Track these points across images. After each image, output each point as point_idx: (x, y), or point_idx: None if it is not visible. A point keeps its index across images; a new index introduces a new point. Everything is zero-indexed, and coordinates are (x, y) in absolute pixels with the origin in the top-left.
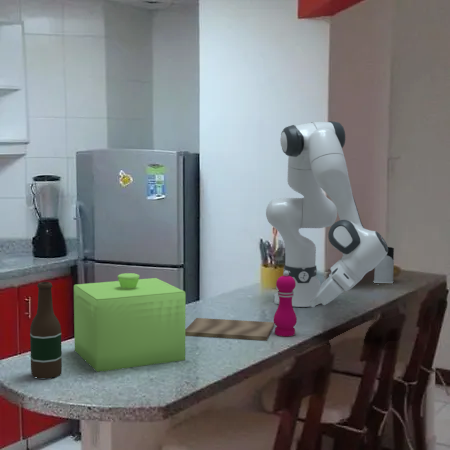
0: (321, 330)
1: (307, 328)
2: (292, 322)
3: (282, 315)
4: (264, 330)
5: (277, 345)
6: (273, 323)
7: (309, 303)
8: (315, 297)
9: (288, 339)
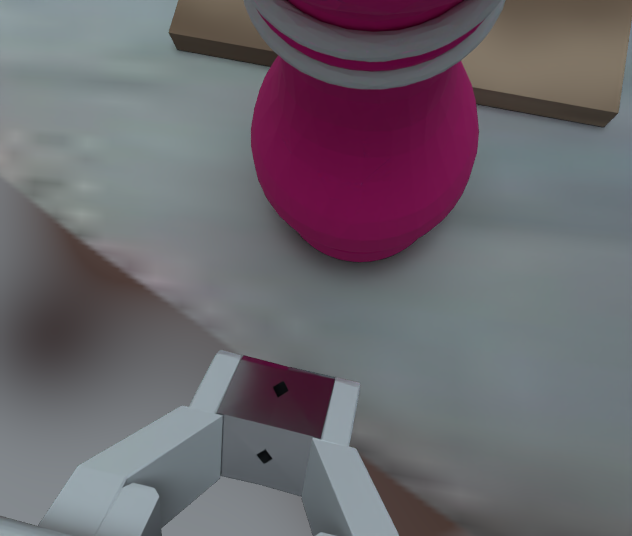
0: (487, 511)
1: (548, 392)
2: (270, 199)
3: (267, 75)
4: None
5: (59, 111)
6: (576, 102)
7: (222, 351)
8: (132, 452)
9: (206, 199)
